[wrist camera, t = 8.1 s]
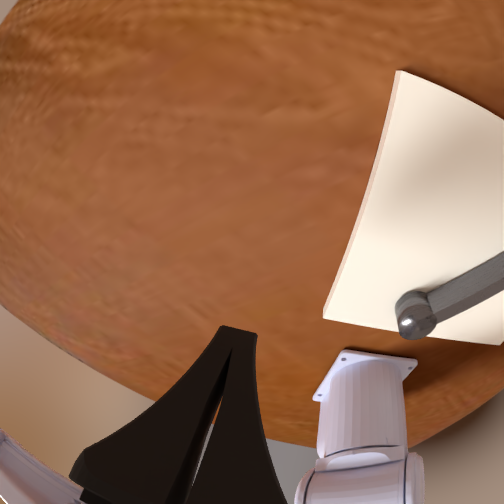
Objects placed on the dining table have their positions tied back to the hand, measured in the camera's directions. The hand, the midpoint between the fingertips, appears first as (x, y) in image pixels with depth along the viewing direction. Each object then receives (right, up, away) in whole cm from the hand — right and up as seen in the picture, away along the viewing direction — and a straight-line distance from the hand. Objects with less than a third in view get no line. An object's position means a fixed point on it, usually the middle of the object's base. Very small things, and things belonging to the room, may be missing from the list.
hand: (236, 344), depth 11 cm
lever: (+16, +2, +5) cm, 17 cm away
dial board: (+16, +4, +5) cm, 17 cm away
